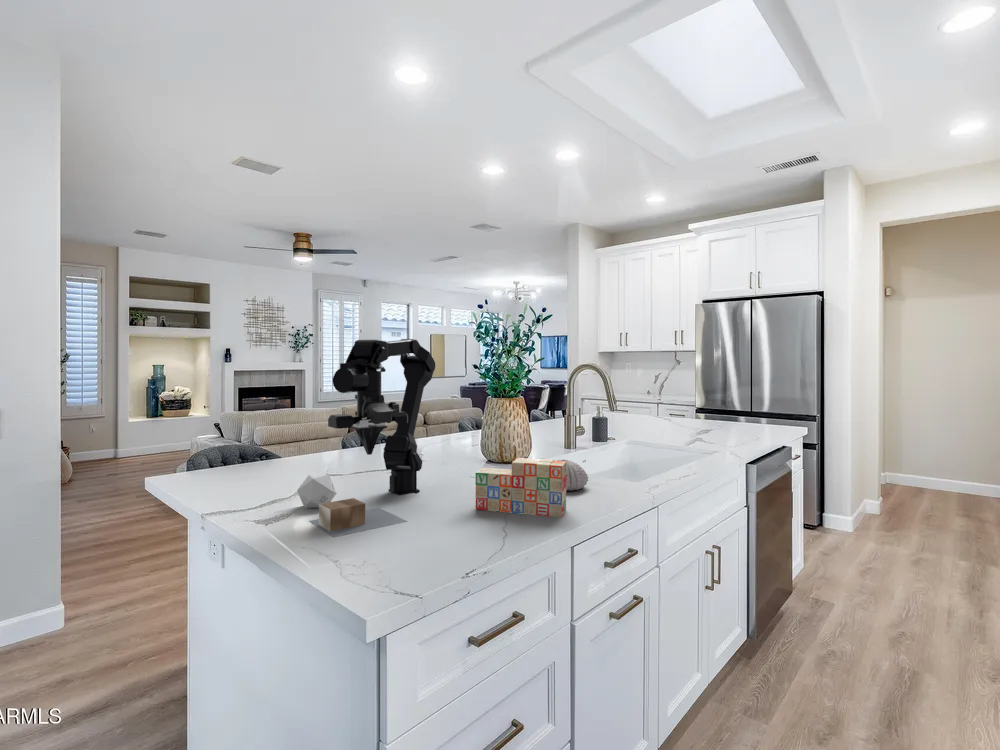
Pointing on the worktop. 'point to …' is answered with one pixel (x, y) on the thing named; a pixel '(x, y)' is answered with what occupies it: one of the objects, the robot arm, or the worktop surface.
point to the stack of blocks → (524, 488)
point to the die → (316, 490)
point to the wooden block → (341, 514)
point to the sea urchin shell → (575, 476)
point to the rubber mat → (366, 522)
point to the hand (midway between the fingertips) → (369, 454)
